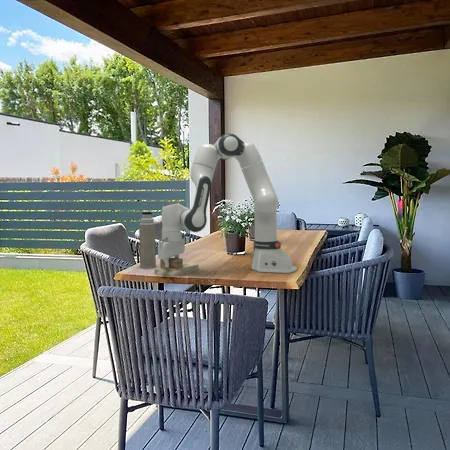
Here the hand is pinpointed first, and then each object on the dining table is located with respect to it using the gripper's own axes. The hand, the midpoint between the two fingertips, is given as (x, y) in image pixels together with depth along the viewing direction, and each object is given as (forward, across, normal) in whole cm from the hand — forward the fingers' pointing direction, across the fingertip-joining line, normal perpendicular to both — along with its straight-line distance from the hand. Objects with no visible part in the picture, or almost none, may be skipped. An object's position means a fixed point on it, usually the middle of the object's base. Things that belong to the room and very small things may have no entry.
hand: (171, 265), depth 214 cm
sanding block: (+2, 0, 0) cm, 2 cm away
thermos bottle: (+4, +10, +19) cm, 22 cm away
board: (+4, +6, 0) cm, 7 cm away
